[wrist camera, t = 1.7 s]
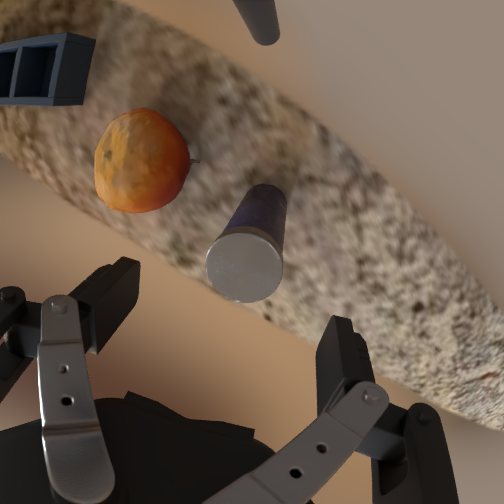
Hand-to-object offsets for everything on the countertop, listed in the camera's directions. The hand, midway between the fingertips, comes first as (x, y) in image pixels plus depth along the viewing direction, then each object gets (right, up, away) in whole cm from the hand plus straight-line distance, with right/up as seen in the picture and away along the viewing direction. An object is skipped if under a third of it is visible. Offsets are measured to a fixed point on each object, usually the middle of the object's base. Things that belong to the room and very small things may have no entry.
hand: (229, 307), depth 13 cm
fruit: (-7, +10, +13) cm, 18 cm away
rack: (-23, +21, +11) cm, 33 cm away
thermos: (+2, +6, +14) cm, 15 cm away
